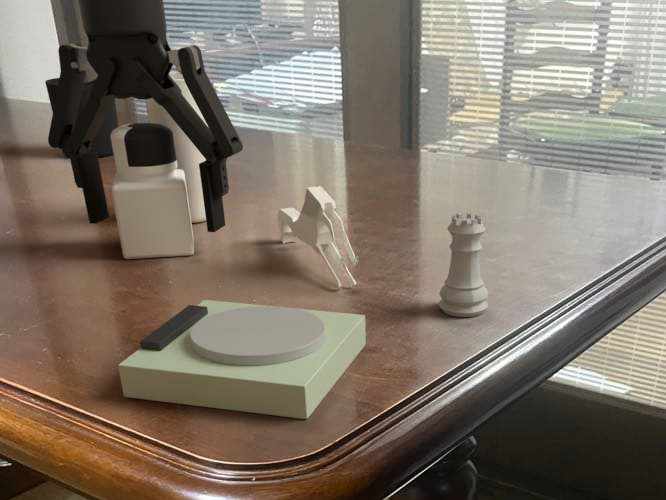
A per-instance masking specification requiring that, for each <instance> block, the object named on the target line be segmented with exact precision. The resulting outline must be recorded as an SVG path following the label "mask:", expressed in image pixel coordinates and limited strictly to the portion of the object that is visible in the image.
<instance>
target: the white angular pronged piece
mask: <svg viewBox="0 0 666 500" xmlns="http://www.w3.org/2000/svg"><path fill="white" fill-rule="evenodd" d="M336 209H337V205H336V201H335V200H334V199H333V197H331V196H330V194H329V193H328V192H327V191H326V190H325V189H324V188H323V186H322V185H320V186H319V185H318V186H309V187H306V190H305V197H304V202H303V205H302V208H301V210H300V211H298V210H297V209H296V208H294V207H285V208H284V207H283V208H279V209H278V211H277V221H278V228H279V232H280V239H281V242H282V244H285V243H292V242H293V243H297V239H298V240H300V242H302V243H304V244H306V245H308V246H310V247H311V248H312V249H313V250H314V252H315V253H316V254H318V255H320V256H321V258H322V259H323V261H324V263H325V264H326V266H327V267H328V269H329V271H330V273H331V274H332V276H333V278H334V280H335V282H336V283H337V290H341V289H342V283H341V281H340V279H339V277H338V276H337V274H336V272H335V271H334V269H333V267H332V265H331V264H330V262H329V261H328V258H327V257H326V255H325V253H326V254H328V253H329V254H330V255H331V257H333V259H334V260H335V262H336V263H337V264H338V266H339V267H340V269H341V271H342V272H343V273H344V275H345V277H346V278H347V280H348V281H349V288H351V289H352V288H354V287H355V286H356V285H357V282H356V280H355V278H354V277H353V276H352V274H351V273H350V271H349V269H348V267H347V265H346V263H345V261H344V257H342V254H341V252H340V250H339V248H338V246H337V242H336V238H335V231H334V228H333V224H332V221H333V222H334V223H335V224H336V226H338V228H339V230H340V232H341V234H342V242H343V245H344V248H345V250H346V252H347V254H348V257H349V260H350V264H349V267H351V269H352V270H353V269H355V267H357V265H358V263H359V262H360V260H359V259H358V258H359V257H360V255H355V253H354V250H353V248H352V245H351V243H350V241H349V238H348V235H347V234H346V232H345V231H346V230H345V227H344V223H343V222H344V221H343V219H342V218H341V217H340V216H339V214H337V212H336ZM332 241H333V242H332Z"/></svg>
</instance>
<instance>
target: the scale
mask: <svg viewBox="0 0 666 500" xmlns="http://www.w3.org/2000/svg"><path fill="white" fill-rule="evenodd" d="M366 332H367V331H366V315H365V314H357V313H346V312H336V311H327V310H326V311H325V310H316V309H305V308H294V307H289V306H288V307H287V306H286V307H285V306H278V305H277V306H276V305H264V304H252V303H243V302H232V301H221V300H209V299H203V300H201V302H200V303H198V304H197V305H193V304H188V305H187V306H186V307H184V308H183V309H182V310H180V311H179V312H178V313H176V314H175V315H174V316H172V317H171V318H169V320H167V321H166V322H164V323H162V325H160V326H158V328H156V329H155V330H153V331H151V332H150V333H149V334H148V335H147V336H145V337H144V338H143V339H141V340H140V341H139V344H140V348H139V349H138V348H137V350H136V351H134V352H133V353H132V354H130V355H128V356H127V357H126V358H125V359H123V361H121V362H120V363H119V364H117V368H118V373H119V378H120V384H121V389H122V394H123V397H124V398H130V399H136V400H137V399H138V400H145V401H153V402H161V403H162V402H163V403H170V404H179V405H186V406H195V407H203V408H211V409H220V410H227V411H235V412H244V413H253V414H260V415H266V416H267V415H270V416H277V417H285V418H293V419H301V420H308V419H309V417H310V416H311V415H312V414H313V413H314V411H316V408H318V406H319V405H320V404H321V402H322V401H323V400H324V399H325V397H327V395H328V393H329V392H330V391H331V389H332V388H333V387H334V386H335V385H336V383H337V382H338V380H339V379H340V378H341V377H342V376H343V374H344V373H345V372H346V371H347V369H348V368H349V367H350V365H351V364H352V363H353V362H354V361H355V359H356V358H357V357H358V355H359V354H360V352H362V350H363V349H364V348H365V346H366V345H367V336H366V335H367V333H366Z"/></svg>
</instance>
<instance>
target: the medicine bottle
mask: <svg viewBox="0 0 666 500" xmlns="http://www.w3.org/2000/svg"><path fill="white" fill-rule="evenodd" d="M110 136H111V142H112V148H113V153H114V155H113V159H114V165H115V170H116V172H115V174H114V177H113V180H112V185H111V189H110V191H111V196H112V202H113V207H114V213H115V218H116V224H117V229H118V235H119V241H120V246H121V250H122V251H121V252H122V256H123V259H125V260H136V259H153V258H156V259H157V258H169V257H185V256H193V255H194V253H195V246H194V232H193V223H191V216H190V209H189V202H188V194H187V187H186V179H185V173H184V171H183V170H182V169H177V167H178V166H177V159H176V152H175V145H174V137H173V132H172V131H171V130H170V128H168V127H166V126H164V125H161V124H157V123H149V122H135V123H126V124H122V125H118V128H116V129H114V130H113V131H112V133H111V135H110Z"/></svg>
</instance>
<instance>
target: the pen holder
mask: <svg viewBox="0 0 666 500" xmlns="http://www.w3.org/2000/svg"><path fill="white" fill-rule="evenodd" d="M59 78H60V77H54V78H50V79H49V78H48V79H46V80H45V82H44V83H45V87H46V91H47V95H48V99H49V103H50V104H49V105H50V108H51V112H52V113H53V110H54V104H55V99H56V94H57V88H58V83H59ZM95 80H96V78H95V79H92V80H90V81H87V82H84V84H83V89H82V94H81V98H80V103H79V108H78V113H77V118H76V123H75V126H76V124H77V122H78V120H79V118H80V116H81V114H82V111H83V109H84V107H85V105H86V103H87V101H88V99H89V97H90V95H91V94H90V91H91V89H92V87H93V84H94V82H95ZM116 105H117V104H116V99H115V100H114V101H113V103H112V104H111V106H110V108H109V110H108V112H107V114H106V116H105V118H104V120H103V122H102V124H101V126H100V128H99V130H98V132H97V133H96V135H95V137H94V139H93V141H92V143H91V145H90V147H92V149H90V150H88V151H87V153H89V152H97V155H98V158H105V157H111V156H114V153H113V148H112V142H111V136H110V135H111V133H112V131H113V130H114V129H116V128H118V127H119V120H118V113H117V106H116ZM90 147H89V148H90ZM61 151H62V153H63V154H64V156H65V157H68V158H70V157H69V155H68V153H67V152H66V151H64V150H62V149H61Z"/></svg>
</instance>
